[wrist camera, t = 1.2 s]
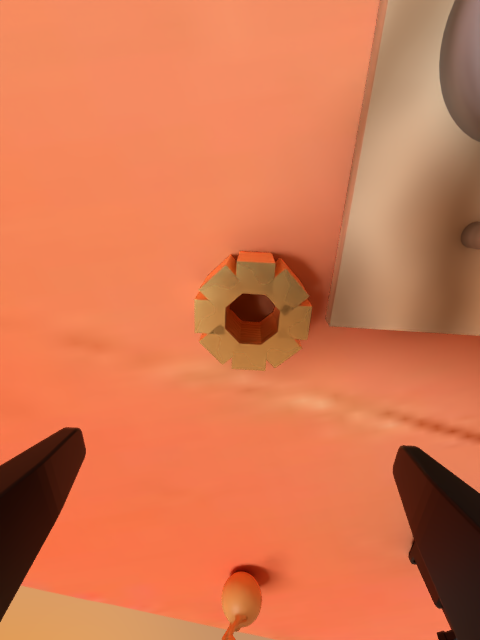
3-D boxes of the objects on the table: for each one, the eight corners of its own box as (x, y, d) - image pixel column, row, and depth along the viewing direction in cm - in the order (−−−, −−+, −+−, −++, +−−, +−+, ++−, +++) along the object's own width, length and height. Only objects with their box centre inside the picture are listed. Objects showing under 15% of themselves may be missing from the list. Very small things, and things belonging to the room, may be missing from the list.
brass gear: (307, 255, 18) (318, 266, 15) (294, 346, 20) (302, 373, 17) (204, 249, 18) (194, 258, 15) (204, 340, 21) (195, 366, 17)
